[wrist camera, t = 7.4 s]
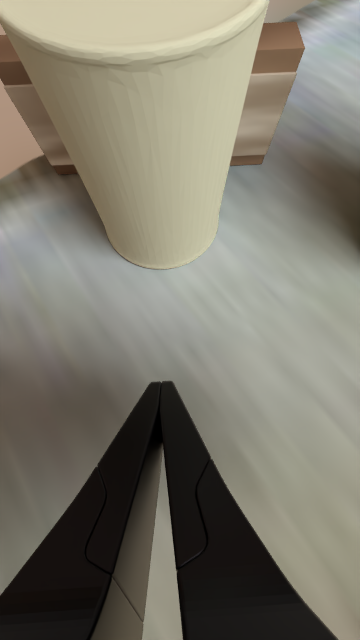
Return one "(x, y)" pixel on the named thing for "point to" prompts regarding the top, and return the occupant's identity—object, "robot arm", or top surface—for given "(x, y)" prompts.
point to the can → (144, 108)
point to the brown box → (257, 114)
